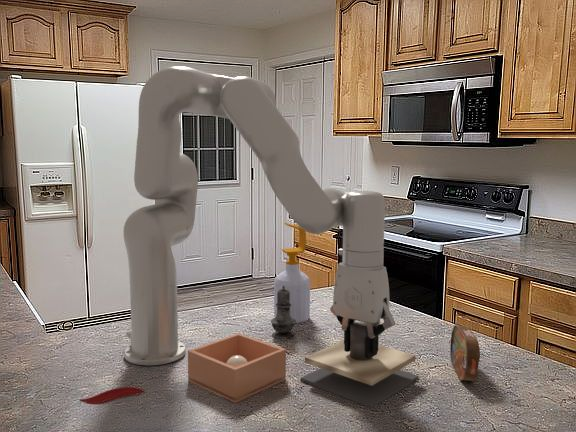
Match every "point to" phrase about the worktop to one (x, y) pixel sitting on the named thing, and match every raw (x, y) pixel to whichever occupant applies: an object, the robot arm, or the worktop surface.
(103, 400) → the cayenne pepper
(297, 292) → the soap bottle
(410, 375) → the mat
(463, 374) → the tin
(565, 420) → the worktop surface
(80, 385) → the worktop surface
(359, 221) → the robot arm
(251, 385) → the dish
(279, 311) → the salt shaker
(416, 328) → the worktop surface
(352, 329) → the lid
